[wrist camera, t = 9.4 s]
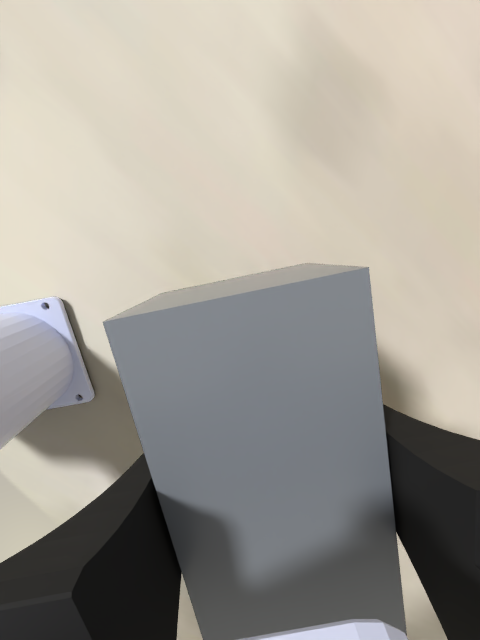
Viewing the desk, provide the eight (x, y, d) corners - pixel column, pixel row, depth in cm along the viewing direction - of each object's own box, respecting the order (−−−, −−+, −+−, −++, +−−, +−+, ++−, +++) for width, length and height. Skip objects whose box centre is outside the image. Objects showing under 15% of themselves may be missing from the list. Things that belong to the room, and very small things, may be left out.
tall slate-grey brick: (220, 514, 14) (212, 671, 9) (162, 293, 12) (102, 321, 7) (340, 492, 14) (406, 636, 9) (306, 263, 12) (368, 266, 6)
